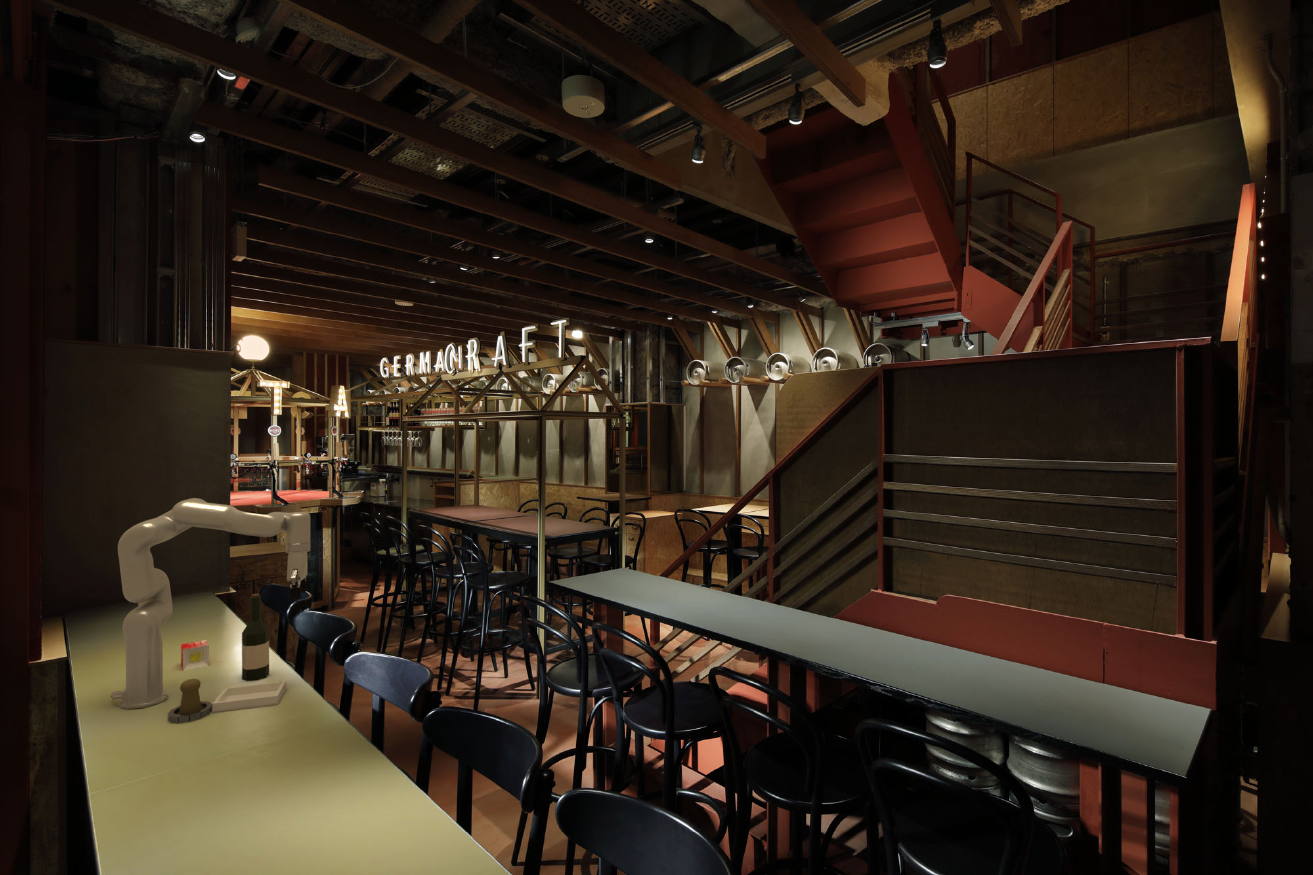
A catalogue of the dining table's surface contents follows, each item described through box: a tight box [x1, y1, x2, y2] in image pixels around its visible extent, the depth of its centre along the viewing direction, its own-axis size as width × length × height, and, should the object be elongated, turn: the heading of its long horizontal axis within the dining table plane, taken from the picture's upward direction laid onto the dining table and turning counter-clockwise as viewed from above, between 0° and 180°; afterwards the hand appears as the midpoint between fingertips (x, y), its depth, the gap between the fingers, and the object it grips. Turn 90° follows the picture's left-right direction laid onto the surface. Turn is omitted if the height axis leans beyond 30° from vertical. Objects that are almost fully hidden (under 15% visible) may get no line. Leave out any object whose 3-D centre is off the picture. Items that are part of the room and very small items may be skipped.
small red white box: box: [180, 639, 210, 671], centre depth 240 cm, size 8×8×8 cm
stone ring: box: [167, 700, 213, 724], centre depth 198 cm, size 11×11×2 cm
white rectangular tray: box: [211, 680, 287, 714], centre depth 208 cm, size 18×13×3 cm
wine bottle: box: [241, 593, 270, 682], centre depth 229 cm, size 8×8×30 cm
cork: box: [178, 678, 203, 715], centre depth 198 cm, size 6×6×11 cm
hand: (298, 595), depth 222 cm, fingers open, 9 cm apart
